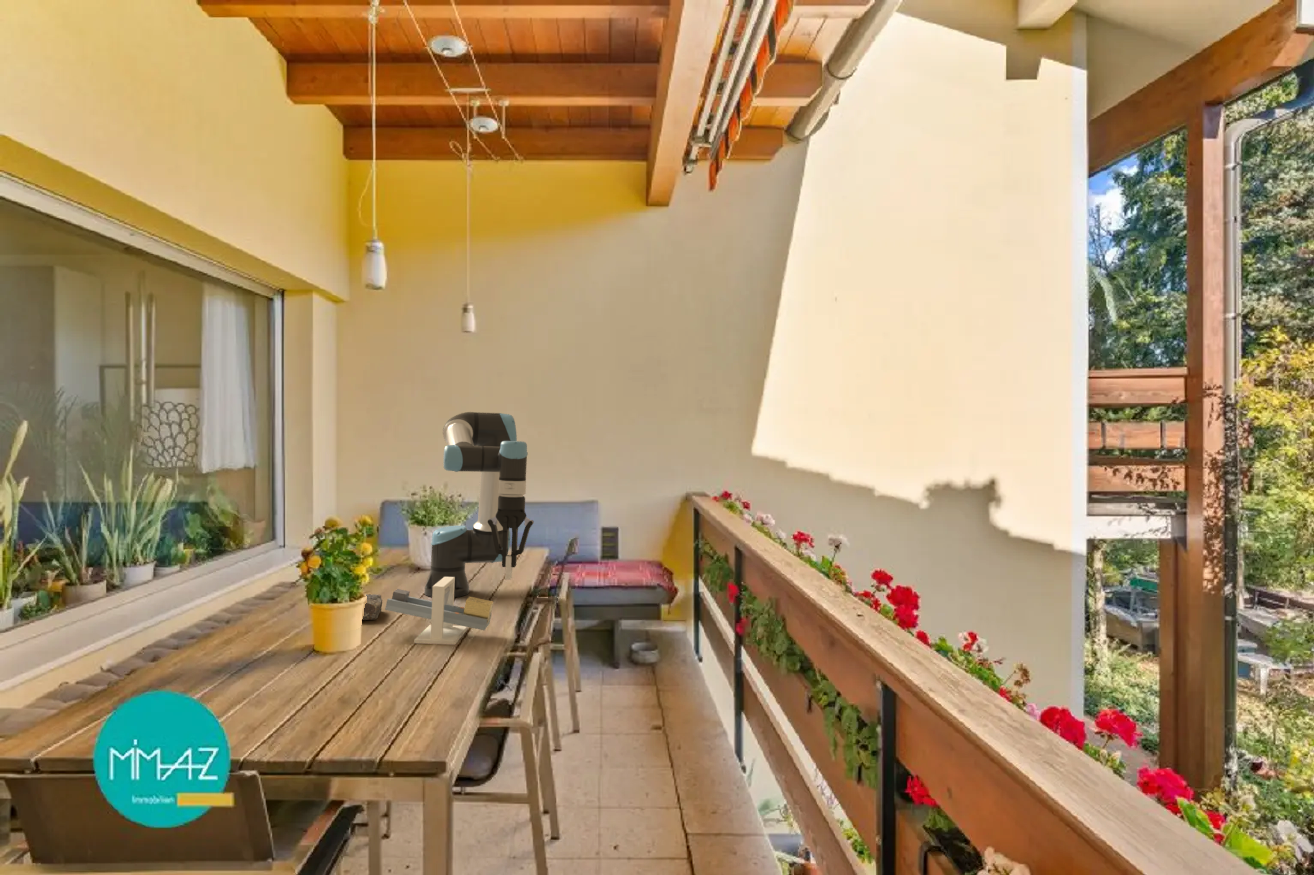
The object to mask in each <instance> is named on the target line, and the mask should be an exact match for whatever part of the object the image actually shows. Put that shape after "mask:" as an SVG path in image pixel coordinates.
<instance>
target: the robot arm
mask: <svg viewBox="0 0 1314 875" xmlns="http://www.w3.org/2000/svg"><path fill="white" fill-rule="evenodd" d="M442 435H443V439H444V441H445V443H446V444H447V445H445V447H444V449H443V468H444V470H445V471H448V472H455V473H458V472H472V473H473V472H480V481H479V497H478V512H477V513H478V514H477V515H478V516H477V521H475V523H473V526H472V529H468V528H467V526H466V525H448V526H444V527H440V528H437V529H436V530H434V531H433V532H432V536H431V543H430V546H431V551H430V552H431V554H430V556H431V557H430V572H429V574H428V578H427V580H426V582H425V585H424V591H423V592H424V595H425V596H428V597H431V598H432V591H433V590H432V588H433V586H434V585H435V584H436V583H437V582H439V581H440V580H441V579H442V578H444V577H455V585H454V598H460V597H464V596H467V595H468V594H469V593H470V584H469V581H468V577H467V574H466V564H475V563H476V564H479V563H480V564H481V563H483V564H484V563H487V564H489V563H491V564H494V563H500V562H501V567H502V568H505V570H504V572H505V573H504V574H505V576H504V580H510V581H511V580H512V578H513V568H515V567H517V560H518V558H517V556H519V555H522V554H523V552H524V551H525V546H526V543H527V540H528V537H529V534H530V529H531V527H532V526H533V524H534V522H535V521H534V520H533V519H530V518H528V516H527V513H526V497H525V496H524V495H526V494H527V493H526V490H527V489H526V488H527V464H528V463H527V462H528V458H527V457H528V455H529V454H528V444H527V442H526V441H522V440H521V441H520V440H517V439H518V437H517V436H518V435H517V427H516V422H515V418H514V416H513V415H511V414H509V413H502V412H474V411H467V412H461V413H458V414H456V415H454V416H452V417H450V418H449V419H448V420H447V421H446V422H445V423H444V426H443V429H442ZM523 522H524V529H523V533H522V535H521V538H520V541H519V542H520V543H519V547H518V539H519V538H518V536H519V535H518V534H519V527H521V525H522V523H523ZM510 529H511V531H510ZM510 543H511V544H510ZM510 545H511V546H510ZM510 547H511V548H510ZM510 549H511V550H510ZM509 550H510V551H511V552H510V554H509Z"/></svg>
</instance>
